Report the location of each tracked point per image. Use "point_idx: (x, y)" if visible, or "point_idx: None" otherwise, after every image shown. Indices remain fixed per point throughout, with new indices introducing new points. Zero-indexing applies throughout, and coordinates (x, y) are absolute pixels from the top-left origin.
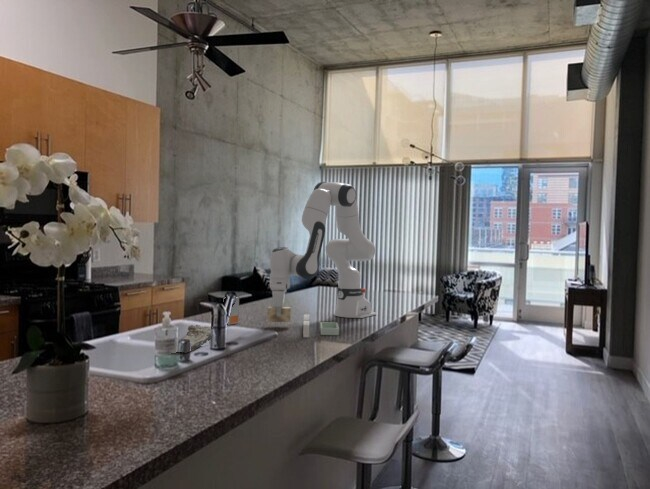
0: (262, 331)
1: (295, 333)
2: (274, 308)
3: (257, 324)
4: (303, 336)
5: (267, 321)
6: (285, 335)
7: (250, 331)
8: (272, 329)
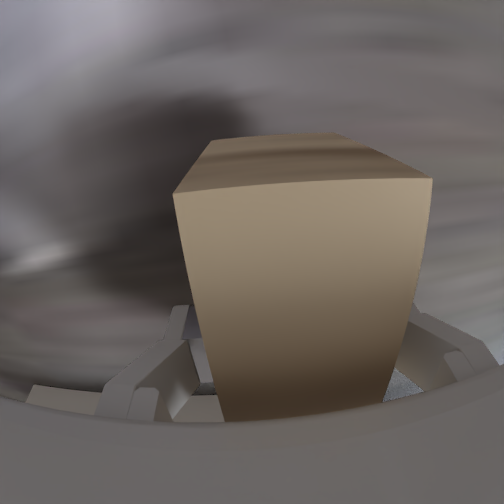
0: (46, 137)
1: (86, 362)
2: (207, 345)
3: (377, 18)
4: (33, 388)
5: (213, 141)
6: (16, 315)
7: (29, 44)
8: (148, 200)
